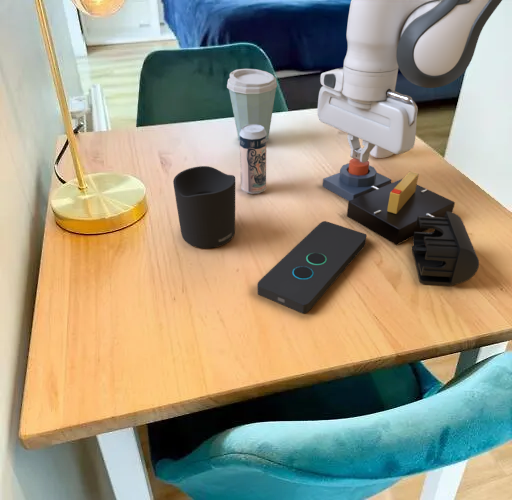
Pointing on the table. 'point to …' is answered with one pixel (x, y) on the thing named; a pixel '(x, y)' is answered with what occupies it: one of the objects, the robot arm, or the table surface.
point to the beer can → (253, 158)
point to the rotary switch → (404, 222)
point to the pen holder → (205, 206)
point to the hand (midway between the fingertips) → (359, 159)
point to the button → (358, 167)
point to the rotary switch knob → (402, 192)
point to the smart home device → (312, 266)
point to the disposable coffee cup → (252, 98)
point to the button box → (354, 183)
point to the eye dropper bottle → (380, 152)
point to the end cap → (443, 251)
